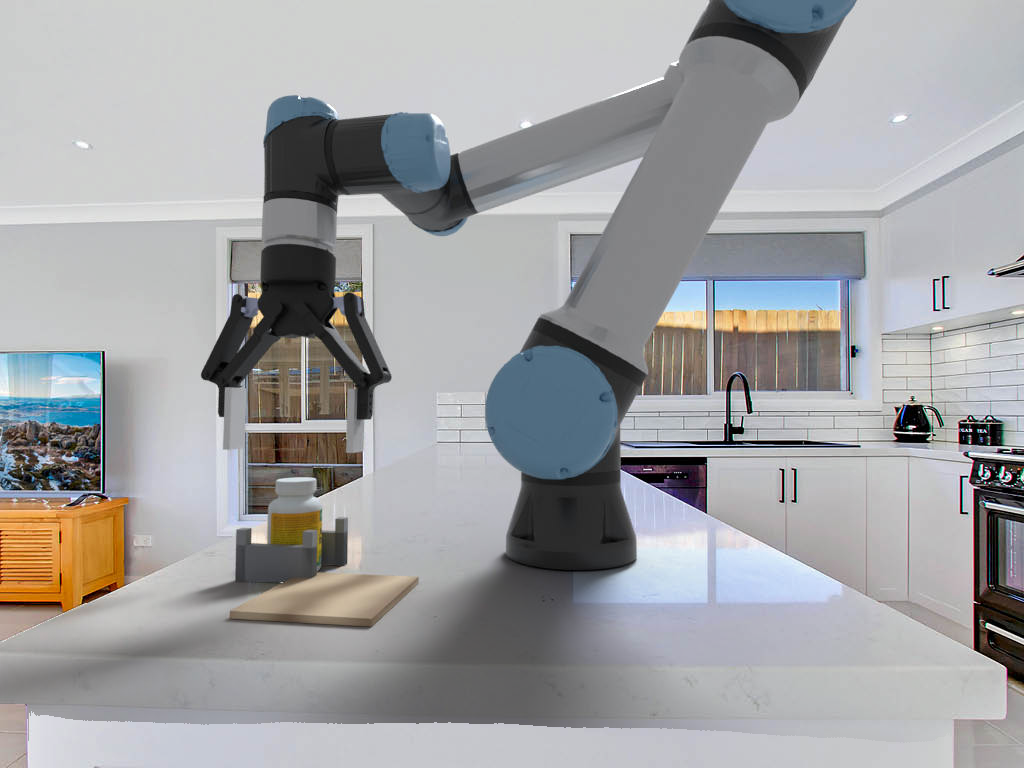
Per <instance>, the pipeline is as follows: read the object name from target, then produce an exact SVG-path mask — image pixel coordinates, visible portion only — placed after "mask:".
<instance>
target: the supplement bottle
mask: <svg viewBox="0 0 1024 768" xmlns="http://www.w3.org/2000/svg"><path fill="white" fill-rule="evenodd" d="M317 488H318V487H317V478H315V477H310V476H307V477H305V476H304V477H303V476H302V477H301V476H299V477H285V478H278V479H276V481H275V489H274V492H275V494H276V495H277V498H274V499H273V500H272V501H271V502H270V503H269V505H268V508H267V536H266V537H267V538H266V539H267V540H266V544H287V545H303V532H304V531H306V530H317V572H319V571H320V569H321V568H322V565H321V547H322V530H323V504H322V503H323V502H322V501H321V499H320V498H318V497H316V496H314V493H316V490H317Z"/></svg>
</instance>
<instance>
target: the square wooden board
mask: <svg viewBox="0 0 1024 768" xmlns="http://www.w3.org/2000/svg"><path fill="white" fill-rule="evenodd" d="M419 578H420V577H419V576H410V575H409V576H406V575H385V574H384V575H383V574H363V573H362V574H361V573H360V574H359V573H340V572H339V573H338V572H319V571H317V576H315V577H313V578H294V577H292V578H290V579H288V580H287V581H285V582H283V583H278V584H277V585H276V586H274V587H272V588H270V589H268V590H266V591H264V592H263V593H260V594H258V595H257V596H255V597H253V598H251V599H249V600H247V601H245V602H244V603H242V604H239V605H238V606H236V607H234V608H232V609H231V610H229V619H233V620H234V619H235V620H249V621H250V620H251V621H267V622H283V623H286V622H287V623H288V622H289V623H301V624H302V623H303V624H321V625H336V626H337V625H339V626H352V627H353V626H354V627H355V626H357V627H369V628H370V627H373V626H374V625H375V624H376V623H378V621H380V619H382V617H384V616H385V615H386V614H387V613H388V612H389V611H390V610H392V608H393V607H394V606H396V605H397V604H398V603H399V602H400V601H401V600H402V599H403V598H404V597H405V596H407V594H409V593H410V591H411V590H413V589H414V588H415V587H416V586H417V585H418V584H419V582H420V581H419Z"/></svg>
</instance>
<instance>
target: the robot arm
mask: <svg viewBox="0 0 1024 768" xmlns="http://www.w3.org/2000/svg"><path fill="white" fill-rule="evenodd" d="M857 2H858V0H708V2H707V4H706V6H705V7H704V9H703V11H702V13H701V15H700V16H699V19H698V20H697V23H696V24H695V26H694V28H693V30H692V31H691V34H690V35H689V37H688V40H687V42H686V43H685V45H684V46H683V49H682V51H681V53H680V54H679V58H678V61H676V62H673V63H670V65H668V68H667V70H666V71H665V73H664V75H663V76H662V77H660V78H658V79H655V80H652V81H650V82H647V83H644V84H642V85H639V86H636V87H634V88H630V89H628V90H626V91H623V92H619V93H617V94H614V95H612V96H609V97H607V98H603V99H601V100H598V101H595V102H593V103H590V104H587V105H584V106H581V107H579V108H577V109H573V110H571V111H569V112H566V113H562V114H561V115H558V116H555V117H552V118H550V119H547V120H544V121H541V122H538V123H536V124H534V125H531V126H527V127H525V128H523V129H520V130H517V131H514V132H511V133H508V134H506V135H503V136H501V137H497V138H495V139H493V140H490V141H489V140H488V141H487V142H485V143H482V144H480V145H479V144H478V145H476V146H474V147H470V148H468V149H465V150H463V151H460V152H457V153H454V154H451V149H450V148H451V147H450V142H449V137H448V135H447V134H446V129H445V126H444V124H443V123H442V120H441V119H440V118H439V117H437V116H436V115H434V114H432V113H428V112H423V113H419V112H418V113H417V112H416V113H411V112H410V113H409V112H408V111H407V112H403V111H402V112H401V111H400V112H395V113H390V114H383V115H382V114H380V115H371V116H370V115H369V116H363V117H362V116H360V117H353V118H352V117H351V118H342V119H340V116H339V114H338V112H337V111H336V110H335V108H334V107H333V106H331V104H329V103H327V102H325V101H323V100H322V99H318V98H315V97H312V96H308V97H303V96H301V95H297V94H294V95H293V94H292V95H284V96H280V97H279V98H277V99H275V100H273V101H272V103H271V104H270V105H269V106H268V109H267V113H266V115H267V116H266V124H265V134H264V136H263V143H262V144H263V148H264V150H263V151H264V153H263V154H264V159H263V160H264V180H263V181H264V183H263V184H264V185H263V189H264V192H263V195H264V196H263V197H262V198H263V202H262V203H263V204H262V216H261V217H262V219H261V220H262V221H261V242H262V244H263V245H264V246H265V247H264V248H263V249H261V252H260V253H261V254H260V283H261V289H262V291H261V294H260V295H259V298H258V297H250V296H245V295H243V294H241V293H240V294H239V293H235V294H234V295H233V296H232V298H231V305H230V313H229V315H228V317H227V320H226V322H225V324H224V326H223V328H222V329H221V332H220V334H219V336H218V338H217V340H216V342H215V344H214V346H213V349H212V350H211V352H210V354H209V356H208V358H207V359H206V363H205V364H204V366H203V368H202V370H201V373H200V378H201V379H202V380H203V381H208V382H210V383H213V384H215V385H216V386H217V388H218V398H217V399H218V401H217V403H218V404H217V406H218V407H217V414H218V416H219V418H223V432H222V433H223V436H222V437H223V441H222V450H226V451H228V450H230V451H231V450H239V449H240V450H241V449H245V448H246V447H245V446H246V417H247V416H246V414H247V391H248V390H247V388H243V385H242V382H243V381H244V380H245V378H247V377H248V375H250V373H251V372H252V371H253V369H254V368H255V367H256V366H257V364H258V363H259V362H260V360H262V358H263V357H264V356H265V354H266V353H268V351H269V350H270V348H272V346H273V344H275V343H277V342H279V341H280V339H281V338H286V339H297V338H304V339H305V338H306V339H316V338H317V339H319V340H320V341H321V343H322V344H323V345H324V346H325V348H326V349H327V350H328V352H329V353H330V354H331V356H332V357H334V359H335V360H336V362H337V363H338V365H340V367H341V368H342V369H343V371H344V372H345V374H346V375H347V376H348V377H349V379H351V381H352V382H353V388H347V403H346V405H347V408H346V411H347V412H346V442H345V445H346V446H345V447H346V449H345V454H356V453H362V452H364V450H365V449H364V448H365V447H364V445H365V421H366V420H372V417H373V415H374V414H373V413H374V391H375V389H376V388H377V387H378V386H381V385H382V384H383V385H384V384H385V383H386V384H387V383H390V382H391V381H392V374H391V371H390V369H389V366H388V365H387V362H386V361H385V358H384V356H383V354H382V352H381V349H380V346H379V344H378V342H377V341H376V338H375V336H374V334H373V332H372V330H371V327H370V325H369V323H368V321H367V319H366V313H365V301H364V299H363V297H361V296H359V295H357V294H355V293H353V292H351V291H350V292H349V291H348V292H346V293H344V295H343V296H336V295H335V287H336V277H337V276H336V273H337V269H336V268H337V257H336V256H335V255H334V253H333V252H334V251H335V250H336V249H337V228H338V227H337V226H338V225H337V223H338V221H337V220H338V204H339V196H357V195H359V196H361V195H378V194H379V195H381V196H382V197H383V198H384V199H385V200H387V201H388V203H390V204H391V205H392V206H394V208H396V209H398V210H399V211H400V212H401V213H403V215H404V216H406V218H408V220H409V221H410V222H411V223H412V224H413V225H414V226H416V227H417V228H419V229H420V230H422V231H424V232H426V233H428V234H429V235H432V236H435V237H448V236H451V235H453V234H455V233H457V232H458V231H459V230H460V229H461V228H462V227H464V225H465V224H466V222H468V218H469V217H472V216H474V215H477V214H479V213H482V212H483V213H484V212H486V211H489V210H492V209H495V208H498V207H500V206H503V205H505V204H510V203H512V202H515V201H518V200H520V199H524V198H527V197H530V196H532V195H535V194H538V193H543V192H544V191H547V190H550V189H554V188H556V187H559V186H562V185H565V184H568V183H571V182H573V181H577V180H580V179H582V178H585V177H589V176H592V175H595V174H597V173H600V172H603V171H607V170H609V169H612V168H615V167H618V166H620V165H623V164H626V163H629V162H632V161H635V160H639V159H640V158H641V161H640V163H639V164H638V166H637V169H636V170H635V172H634V174H633V176H632V178H631V180H630V181H629V183H628V185H627V187H626V189H625V191H624V192H623V194H622V196H621V198H620V200H619V202H618V204H617V205H616V207H615V209H614V210H613V213H612V215H611V217H610V218H609V220H608V222H607V224H606V226H605V227H604V229H603V231H602V233H601V234H600V237H599V239H598V241H597V242H596V244H595V245H594V247H593V249H592V252H591V254H590V255H589V258H588V259H587V261H586V263H585V264H584V266H583V268H582V270H581V272H580V274H579V276H578V278H577V280H576V281H575V283H574V284H573V287H572V289H571V290H570V292H569V294H568V296H567V298H566V300H565V301H564V303H563V305H562V306H560V307H559V308H556V309H553V310H551V311H547V312H544V313H541V314H540V315H539V317H538V318H537V319H536V322H535V323H534V326H533V328H532V330H531V331H530V333H529V335H528V337H527V338H526V340H525V342H524V344H523V346H522V348H521V350H520V351H519V352H518V353H516V354H515V355H514V356H512V357H511V358H510V359H509V360H508V361H507V362H506V363H504V364H503V365H502V367H500V369H499V370H498V371H497V372H496V374H495V376H494V377H493V379H492V381H491V383H490V386H489V388H488V391H487V394H486V398H485V405H484V416H485V417H484V419H485V423H486V429H487V431H488V432H487V433H488V435H489V437H490V438H489V439H490V440H491V442H492V444H493V446H494V447H495V449H496V451H497V452H498V453H499V455H500V456H501V457H502V458H503V459H504V460H505V461H506V462H507V463H508V464H509V465H510V466H511V467H513V468H515V469H516V470H517V471H519V472H520V490H519V493H518V496H517V498H516V499H517V500H516V503H515V506H514V509H513V513H512V514H511V518H510V521H509V524H508V527H507V530H506V536H505V554H506V556H507V557H508V558H509V559H510V560H512V561H514V562H517V563H520V564H523V565H527V566H531V567H537V568H543V569H552V570H568V571H569V570H570V571H572V570H573V571H584V570H585V571H591V570H602V569H603V570H604V569H612V568H617V567H621V566H624V565H628V564H630V563H633V562H634V561H635V560H636V559H637V557H638V556H637V555H638V552H637V550H638V549H637V547H638V546H637V545H638V544H637V543H638V542H637V536H636V535H637V534H636V532H635V530H634V526H633V523H632V520H631V516H630V513H629V511H628V507H627V504H626V501H625V498H624V495H623V493H622V487H621V486H622V484H621V483H622V481H621V477H622V476H621V475H622V474H621V467H622V465H621V463H622V461H621V456H622V455H621V424H622V422H623V420H624V418H625V417H626V414H627V413H628V411H629V410H630V407H631V406H632V404H633V403H634V400H635V399H636V397H637V395H638V393H639V391H640V389H641V388H642V386H643V384H644V382H645V381H646V378H647V377H648V375H649V369H648V365H647V361H646V357H645V354H644V349H645V346H646V345H647V344H648V341H649V339H650V338H651V335H652V334H653V332H654V330H655V328H656V326H657V324H658V323H659V321H660V319H661V317H662V316H663V314H664V312H665V310H666V308H667V306H668V305H669V303H670V301H671V300H672V298H673V296H674V294H675V293H676V290H677V288H678V287H679V285H680V283H681V281H682V279H683V278H684V275H685V274H686V272H687V270H688V268H689V267H690V265H691V263H692V261H693V259H694V257H695V255H696V254H697V252H698V250H699V249H700V246H701V245H702V242H703V241H704V239H705V237H706V236H707V234H708V232H709V230H710V229H711V227H712V225H713V223H714V221H715V219H716V218H717V217H718V214H719V212H720V210H721V208H722V207H723V205H724V203H725V201H727V200H726V199H727V197H728V196H729V194H730V192H731V191H732V189H733V187H734V185H735V183H736V181H737V180H738V177H739V176H740V174H741V172H742V170H743V168H744V166H745V165H746V163H747V161H748V159H749V158H750V155H751V154H752V152H753V151H754V148H755V147H756V145H757V143H758V141H759V140H760V138H761V136H762V134H763V132H764V131H765V128H766V127H767V125H768V124H770V123H774V122H777V121H780V120H782V119H784V118H787V117H788V116H790V115H791V114H792V113H793V112H794V111H795V108H796V107H797V105H798V104H799V102H800V101H801V98H802V97H803V94H805V91H806V90H807V88H808V87H809V86H810V84H811V82H812V80H813V79H814V77H815V74H816V73H817V71H818V69H819V67H820V65H821V63H822V61H823V60H824V58H825V56H826V54H827V52H828V51H829V48H830V46H831V45H832V43H833V41H834V39H835V37H836V35H837V33H838V32H839V30H840V28H841V26H842V24H843V23H844V20H845V18H847V16H848V15H849V14H850V12H851V11H853V10H852V9H854V7H855V5H856V3H857ZM338 310H339V312H340V314H341V315H342V316H344V317H345V320H346V323H347V325H348V327H349V330H350V331H351V334H352V336H353V338H354V340H355V343H356V345H357V348H358V349H359V352H360V353H361V356H362V358H363V360H364V362H365V364H366V367H367V369H368V370H367V369H366V368H365V366H364V365H363V363H362V362H361V361H360V360H359V358H358V357H357V356H356V355H355V353H354V352H353V351H352V350H351V348H350V347H349V346H348V345H347V343H346V342H345V340H344V339H343V338H342V336H341V335H340V332H339V331H338V329H337V328H336V327H335V326H334V324H333V323H332V322H331V319H332V318H333V317H334V315H335V314H336V313H337V311H338ZM259 313H261V315H262V316H263V317H262V318H260V321H259V322H258V323H257V324H256V325H255V326H254V328H253V331H252V332H253V333H252V335H251V336H250V337H249V338H248V339H247V340H246V342H245V343H244V344H243V342H244V341H245V338H246V336H247V334H248V332H249V330H250V328H251V326H252V324H253V321H254V318H255V317H256V316H258V315H259ZM242 344H243V345H242ZM241 346H242V347H241Z"/></svg>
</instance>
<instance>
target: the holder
mask: <svg viewBox="0 0 1024 768" xmlns="http://www.w3.org/2000/svg"><path fill="white" fill-rule="evenodd" d="M334 521H335V523H334V530H326V529H324V530H323V529H322V547H321V566H339V567H340V566H341V567H344V566H346V565H348V553H349V551H348V548H349V547H348V543H349V541H348V537H349V517H347V516H343V517H342V516H340V517H336V518H335V520H334ZM252 531H253V530H252V527H240V528H238V529H236V530H235V532H236V533H235V574H234V576H235V580H234V581H235V582H248V583H249V582H250V583H251V582H252V583H267V582H285V581H287V580H288V579H290V578H292V577H294V578H313V577H315V576H317V572H318V571H317V530H306V531H304V532H303V545H287V544H267V543H257V542H256V543H255V542H252Z"/></svg>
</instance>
